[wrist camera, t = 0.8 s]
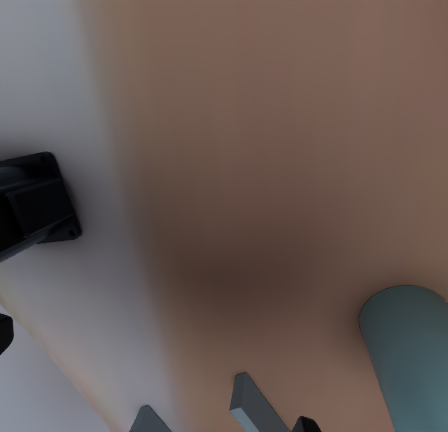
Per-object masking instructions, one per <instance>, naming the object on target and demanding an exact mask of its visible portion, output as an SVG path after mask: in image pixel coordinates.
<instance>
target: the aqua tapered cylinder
mask: <svg viewBox="0 0 448 432" xmlns="http://www.w3.org/2000/svg"><path fill="white" fill-rule="evenodd" d="M359 327H360V330H361V333H362V336H363V339H364V342H365V345H366V348H367V351H368V353H369V356H370V359H371V362H372V365H373V368H374V371H375V374H376V377H377V380H378V383H379V386H380V389H381V392H382V395H383V398H384V400H385V403H386V406H387V409H388V412H389V415H390V418H391V421H392V424H393V427H394V430H395V432H448V303H447V302H446V301H445V300H444V298H442V297H441V296H440V295H439V294H437V293H435V292H434V291H432V290H429V289H426V288H423V287H419V286H411V285H403V286H396V287H391V288H388V289H385V290H383V291H380V292H379V293H377V294H375V295H374V296H372V297H371V298H370V299H369V300H368V301H367V302H366V303H365V305H364V306H363V308H362V310H361V312H360V316H359Z"/></svg>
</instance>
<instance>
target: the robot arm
mask: <svg viewBox="0 0 448 432" xmlns="http://www.w3.org/2000/svg"><path fill="white" fill-rule="evenodd" d="M45 157H46V159H47V161H46V160H45ZM73 231H74V232H75V234H74V233H73ZM81 233H82V232H81V229H80V226H79V223H78V221H77V218H76V215H75V213H74V210H73V207H72V205H71V202H70V199H69V197H68V194H67V191H66V189H65V186H64V183H63V181H62V178H61V175H60V173H59V170H58V167H57V165H56V162H55V159H54V157H53V155H52V154H51V153H49V152H41V153H36V154H32V155H27V156H22V157H18V158H13V159H9V160H4V161H0V262H2V261H4V260H6V259H8V258H10V257H12V256H14V255H15V254H17V253H19V252H21V251H23V250H25V249H27V248H29V247H30V246H32V245H34V244H40V243H48V242H57V241H65V240H73V239H77V238H78V237H80V236H81ZM13 338H14V331H13V319H12V317H10V316H7V315H4V314H1V313H0V355H1V354H2V353H3V352H4V351H5V350H6V349H7V348H8V347H9V345H10V344H11V342H12V340H13ZM292 432H322V431H321V430H320V428H319V427H318V425H317V423H316V422H315V421H314V420H313V419H310V418H307V417H304V416H300V417H299V418H298V420H297V422H296V424H295V426H294V428H293V430H292Z"/></svg>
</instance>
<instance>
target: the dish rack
mask: <svg viewBox="0 0 448 432" xmlns="http://www.w3.org/2000/svg"><path fill="white" fill-rule="evenodd" d="M229 411H230V412H231V414H232V415H233V416H234V417H235V419H236V420H237V421H238V422H239V424H240V425H241V426H242V428H243V429H244V430H245V431H246V432H290V431H289V430H288V428H287V427H286V425H285V424H284V423H283V421H282V420H281V419H280V417H279V416H278V415H277V413H276V412H275V411H274V409H273V408H272V407H271V405H270V404H269V403H268V401H267V400H266V399H265V397H264V396H263V395H262V393H261V392H260V391H259V389H258V388H257V387H256V385H255V384H254V383H253V381H252V380H251V379H250V377H249V376H248V375H247V373H243V374H240V375H237V376H236V377H235V383H234V388H233V393H232V399H231V404H230V409H229ZM129 432H171V431H170V430H169V429H168V427H167V426H166V425H165V424H164V423H163V422H162V420H161V419H160V418H159V417H158V416H157V415H156V413H155V412H154V411H153V410H152V409H151V408H150V406H149V405H147V406H144V407H141V409H140V411H139V413H138V415H137V417H136V419H135V421H134V423H133V425H132V427H131V429H130V431H129Z"/></svg>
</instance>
